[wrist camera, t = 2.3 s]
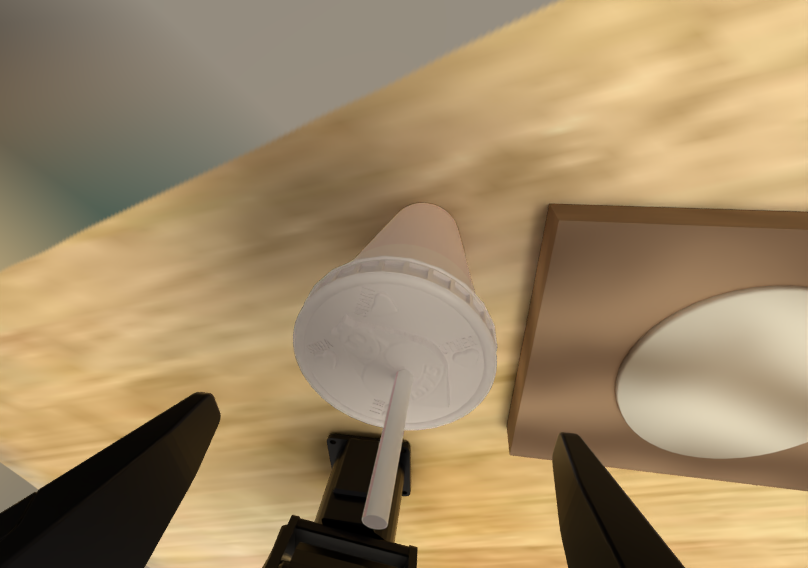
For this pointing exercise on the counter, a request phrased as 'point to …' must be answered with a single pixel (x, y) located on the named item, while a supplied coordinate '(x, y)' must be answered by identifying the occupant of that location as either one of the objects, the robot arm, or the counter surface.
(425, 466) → the counter surface
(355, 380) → the smoothie
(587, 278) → the walnut base
